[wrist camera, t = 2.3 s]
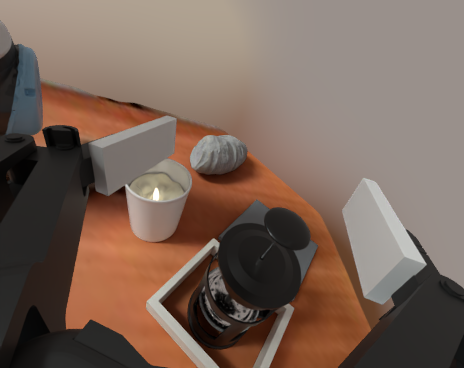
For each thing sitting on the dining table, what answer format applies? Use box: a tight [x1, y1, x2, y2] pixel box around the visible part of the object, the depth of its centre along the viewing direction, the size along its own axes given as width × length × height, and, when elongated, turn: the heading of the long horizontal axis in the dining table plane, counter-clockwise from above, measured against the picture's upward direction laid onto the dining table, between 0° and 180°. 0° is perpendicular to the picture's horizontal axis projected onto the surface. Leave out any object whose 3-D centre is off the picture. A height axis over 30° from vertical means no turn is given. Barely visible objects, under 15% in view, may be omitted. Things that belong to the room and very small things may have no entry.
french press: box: [187, 207, 311, 349], centre depth 25 cm, size 12×9×23 cm
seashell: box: [190, 135, 247, 175], centre depth 55 cm, size 16×15×10 cm
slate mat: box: [218, 200, 318, 302], centre depth 44 cm, size 15×17×1 cm
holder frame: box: [146, 238, 294, 368], centre depth 31 cm, size 14×17×3 cm
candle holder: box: [125, 158, 192, 242], centre depth 36 cm, size 10×10×12 cm
